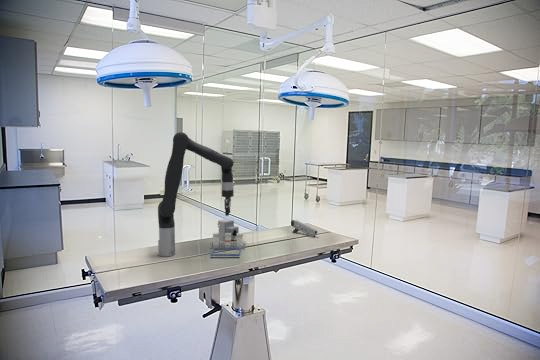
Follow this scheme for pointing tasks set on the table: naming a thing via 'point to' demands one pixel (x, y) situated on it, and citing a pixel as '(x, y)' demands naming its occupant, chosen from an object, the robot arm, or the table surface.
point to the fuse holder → (231, 244)
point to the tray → (225, 254)
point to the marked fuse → (227, 240)
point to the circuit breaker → (227, 229)
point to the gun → (303, 228)
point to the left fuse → (216, 240)
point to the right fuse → (239, 240)
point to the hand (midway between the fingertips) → (227, 214)
